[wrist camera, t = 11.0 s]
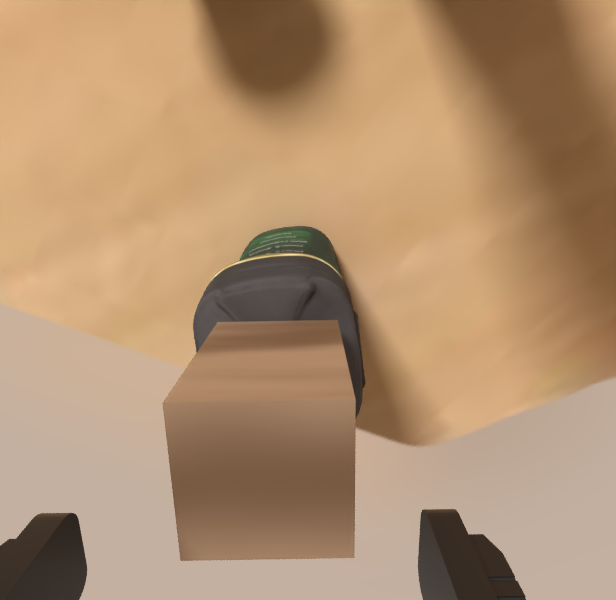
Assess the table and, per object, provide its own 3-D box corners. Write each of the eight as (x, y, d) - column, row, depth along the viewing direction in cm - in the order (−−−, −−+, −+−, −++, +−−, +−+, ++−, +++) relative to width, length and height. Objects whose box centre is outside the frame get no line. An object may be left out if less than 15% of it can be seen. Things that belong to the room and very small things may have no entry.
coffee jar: (236, 233, 35) (162, 279, 17) (331, 219, 35) (356, 251, 17) (256, 343, 38) (209, 483, 20) (346, 331, 38) (381, 461, 20)
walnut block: (217, 322, 18) (162, 402, 11) (337, 319, 18) (355, 399, 11) (225, 429, 19) (180, 560, 12) (337, 427, 19) (354, 557, 12)
